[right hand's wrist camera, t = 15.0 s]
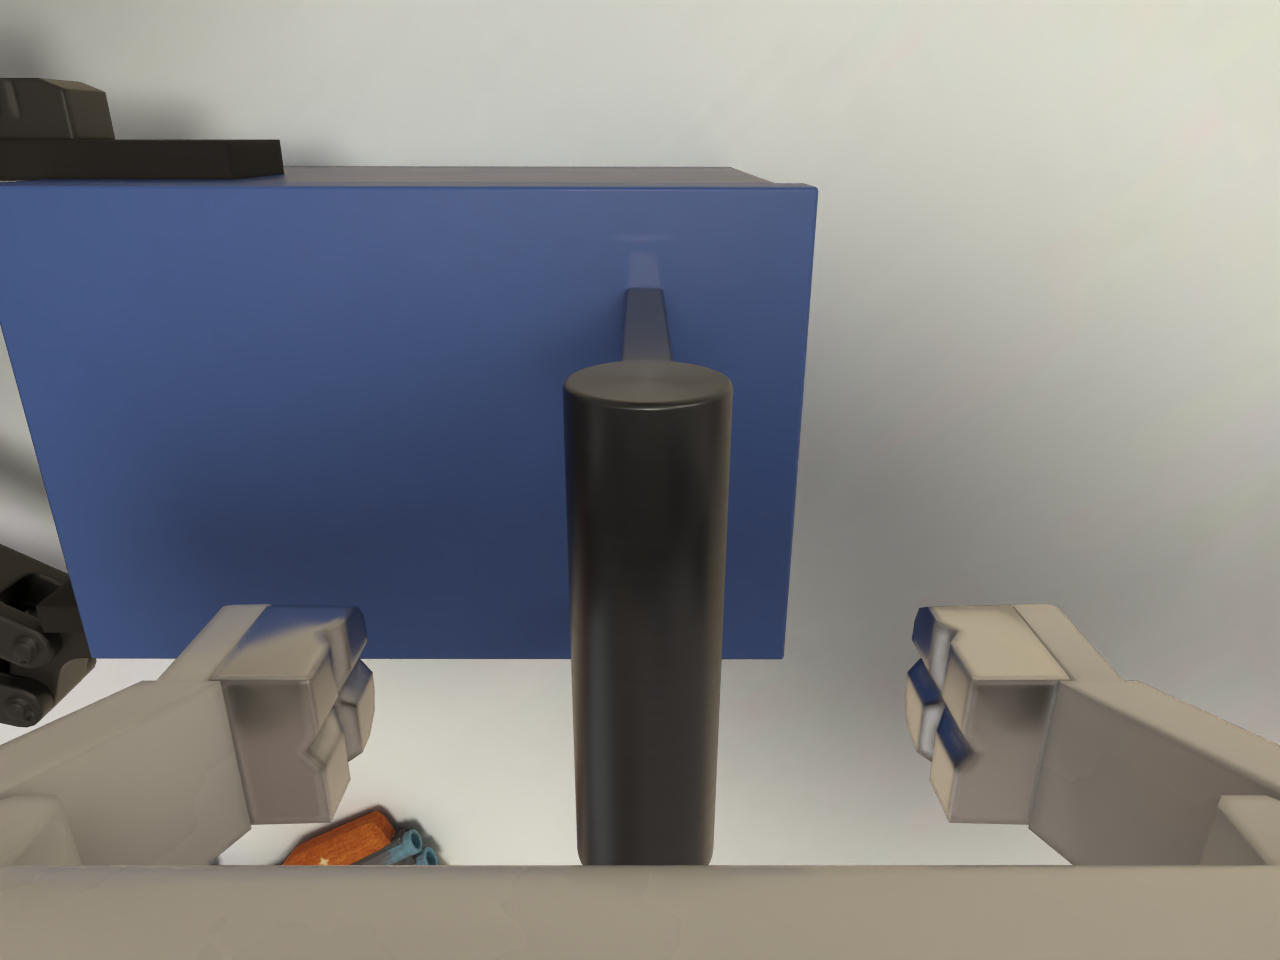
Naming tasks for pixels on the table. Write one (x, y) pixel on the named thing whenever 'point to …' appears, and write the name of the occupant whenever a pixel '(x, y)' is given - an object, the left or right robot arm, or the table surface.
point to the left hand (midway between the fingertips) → (294, 396)
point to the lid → (436, 434)
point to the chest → (482, 175)
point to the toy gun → (364, 845)
